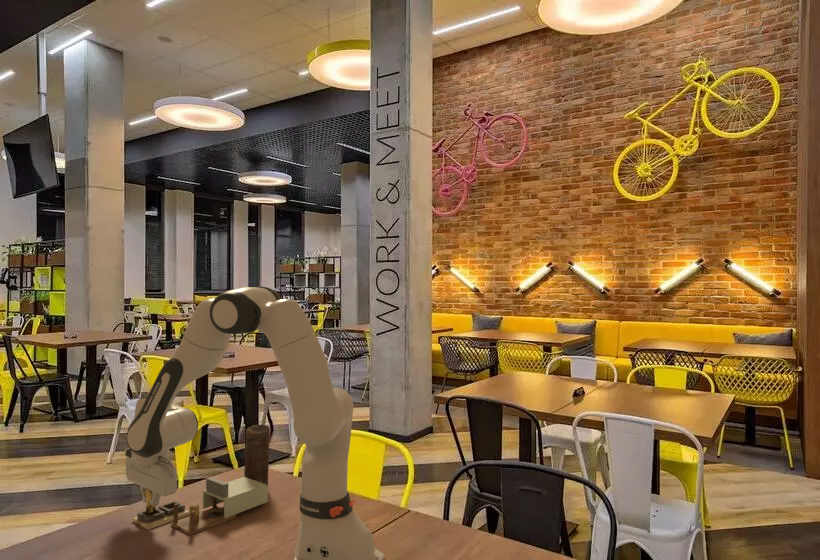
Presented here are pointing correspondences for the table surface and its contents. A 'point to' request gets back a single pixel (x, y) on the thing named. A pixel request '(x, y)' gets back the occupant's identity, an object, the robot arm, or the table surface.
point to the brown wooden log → (257, 453)
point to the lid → (235, 494)
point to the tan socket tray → (160, 515)
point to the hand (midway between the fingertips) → (150, 503)
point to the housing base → (199, 518)
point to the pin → (148, 497)
